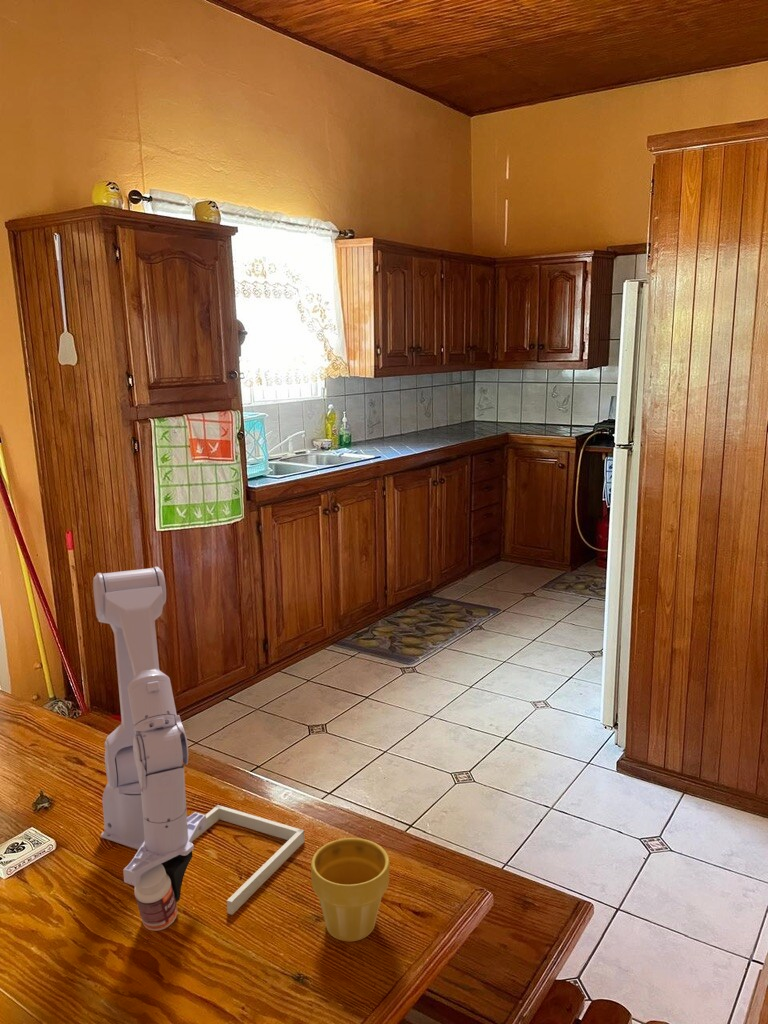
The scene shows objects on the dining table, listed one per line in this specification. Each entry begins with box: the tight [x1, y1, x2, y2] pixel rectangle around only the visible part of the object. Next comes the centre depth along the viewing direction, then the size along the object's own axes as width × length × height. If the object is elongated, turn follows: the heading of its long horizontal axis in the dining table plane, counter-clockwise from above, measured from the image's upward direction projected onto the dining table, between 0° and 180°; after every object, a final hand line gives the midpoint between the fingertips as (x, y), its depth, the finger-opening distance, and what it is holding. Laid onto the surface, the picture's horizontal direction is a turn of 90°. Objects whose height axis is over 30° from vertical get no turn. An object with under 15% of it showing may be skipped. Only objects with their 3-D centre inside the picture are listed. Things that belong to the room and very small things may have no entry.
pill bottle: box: [133, 864, 178, 932], centre depth 106 cm, size 5×5×8 cm
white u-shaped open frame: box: [191, 804, 305, 916], centre depth 121 cm, size 17×19×2 cm
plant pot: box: [310, 837, 390, 942], centre depth 106 cm, size 10×10×10 cm
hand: (170, 900), depth 110 cm, fingers closed, pressing on pill bottle
